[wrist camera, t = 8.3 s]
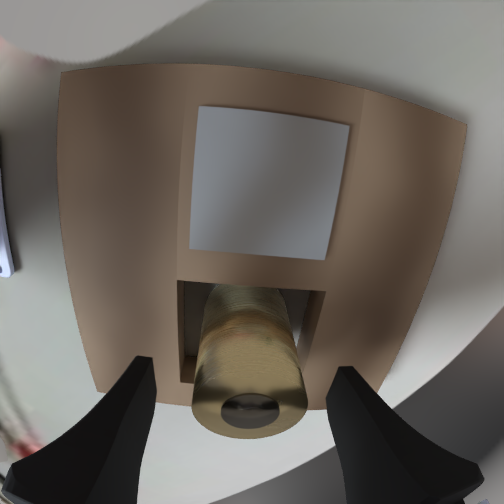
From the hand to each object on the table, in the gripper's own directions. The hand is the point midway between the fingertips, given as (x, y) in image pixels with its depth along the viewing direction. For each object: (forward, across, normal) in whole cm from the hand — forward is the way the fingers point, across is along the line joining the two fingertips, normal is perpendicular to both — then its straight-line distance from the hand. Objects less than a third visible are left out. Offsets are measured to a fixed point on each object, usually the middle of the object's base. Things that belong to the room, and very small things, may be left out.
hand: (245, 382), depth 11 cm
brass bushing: (+4, 0, 0) cm, 4 cm away
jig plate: (+4, 0, -3) cm, 5 cm away
